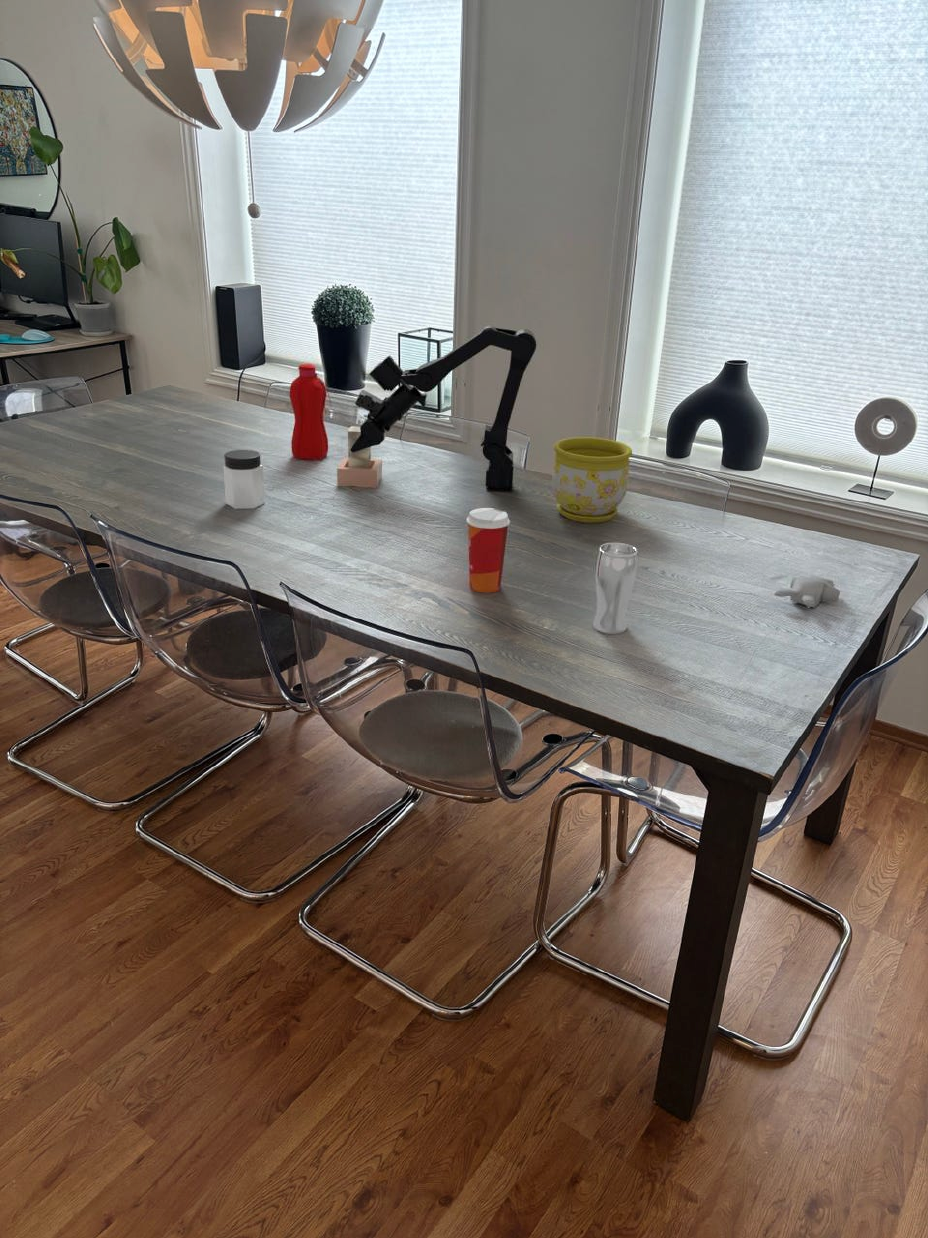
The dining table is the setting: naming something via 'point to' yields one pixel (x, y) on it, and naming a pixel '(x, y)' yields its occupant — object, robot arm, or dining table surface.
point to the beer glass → (614, 586)
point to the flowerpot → (590, 477)
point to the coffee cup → (486, 548)
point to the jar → (243, 479)
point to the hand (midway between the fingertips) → (354, 446)
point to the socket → (359, 474)
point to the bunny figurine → (810, 591)
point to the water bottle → (308, 415)
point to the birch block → (360, 457)
